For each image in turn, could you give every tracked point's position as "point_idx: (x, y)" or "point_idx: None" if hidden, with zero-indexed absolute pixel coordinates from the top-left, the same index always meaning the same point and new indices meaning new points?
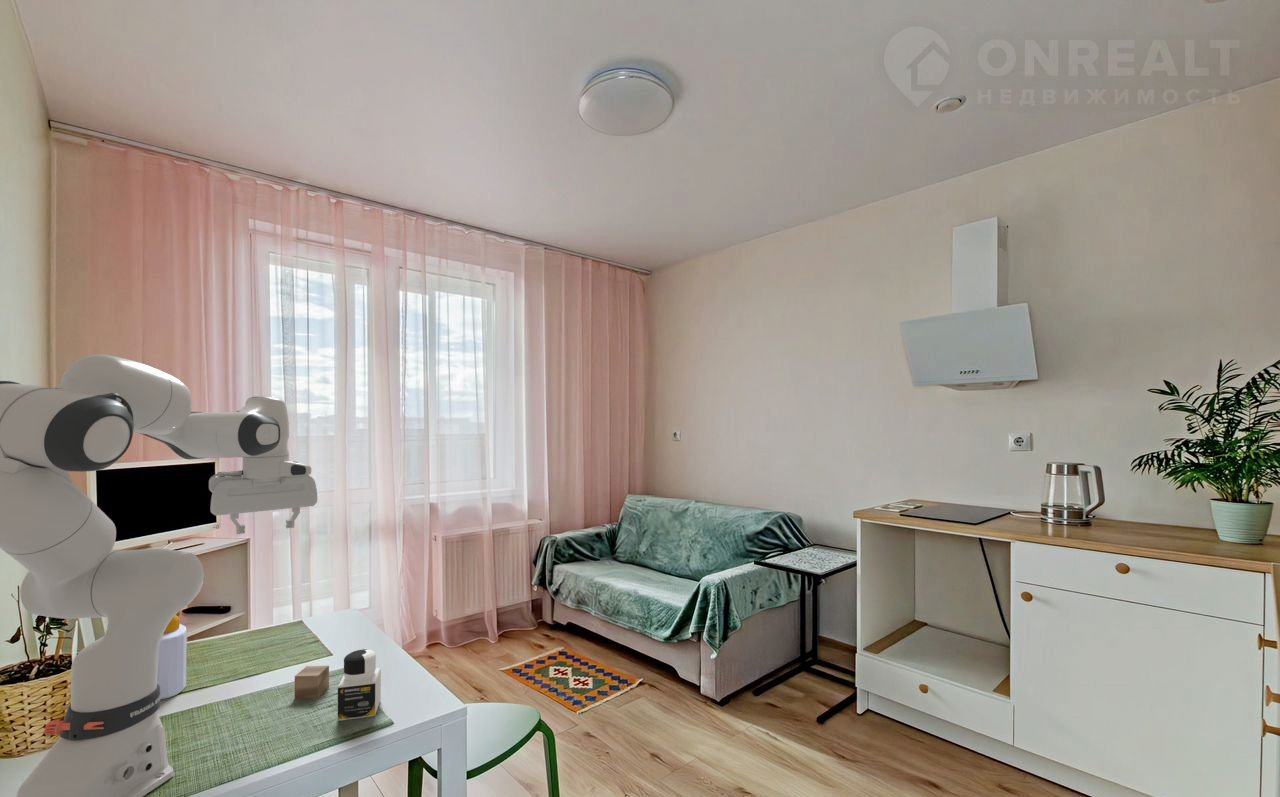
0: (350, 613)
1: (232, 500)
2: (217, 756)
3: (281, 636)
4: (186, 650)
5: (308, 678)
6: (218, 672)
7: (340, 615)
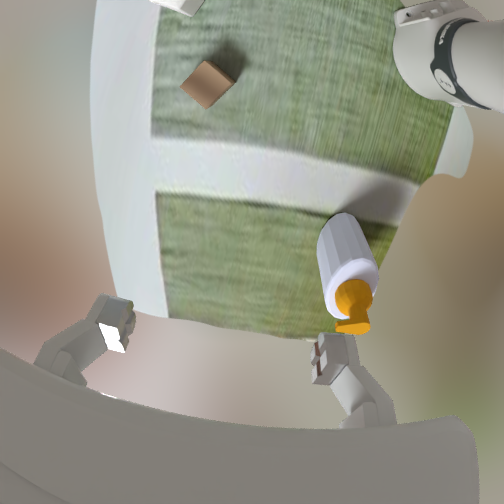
0: None
1: (414, 497)
2: (352, 10)
3: (196, 293)
4: (327, 257)
5: (216, 69)
6: (281, 243)
7: None
